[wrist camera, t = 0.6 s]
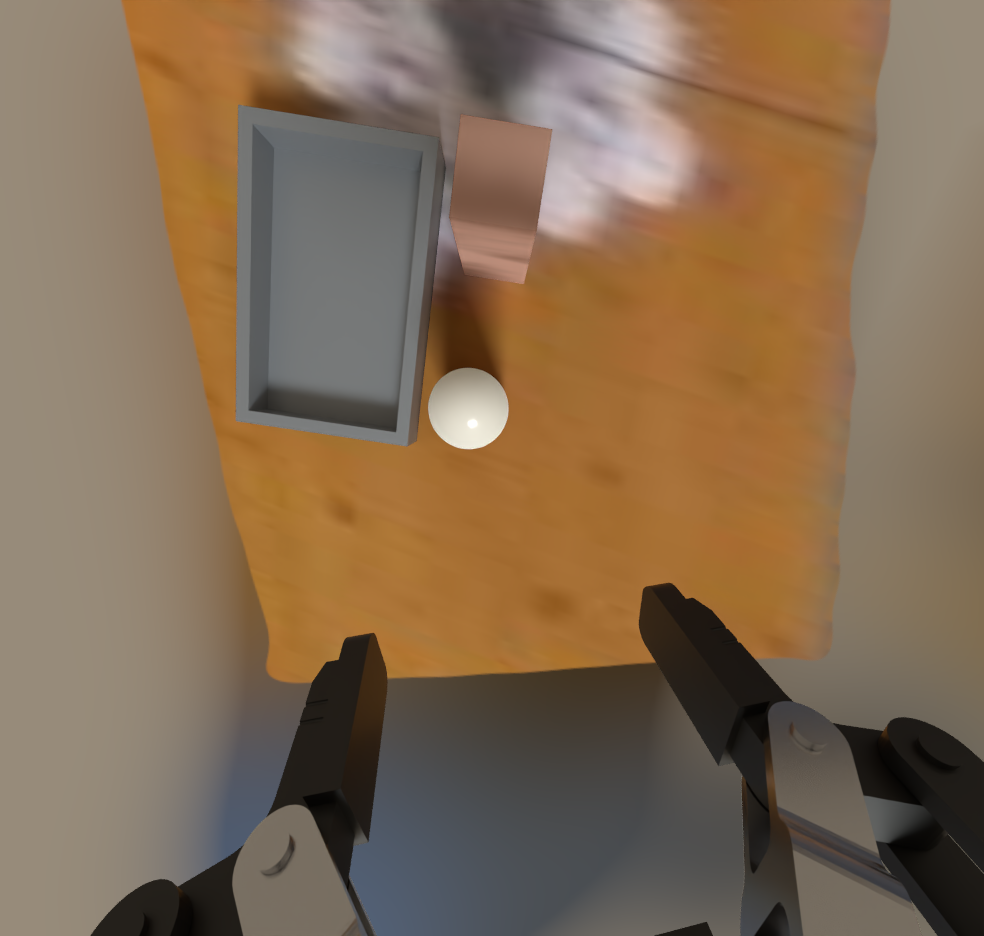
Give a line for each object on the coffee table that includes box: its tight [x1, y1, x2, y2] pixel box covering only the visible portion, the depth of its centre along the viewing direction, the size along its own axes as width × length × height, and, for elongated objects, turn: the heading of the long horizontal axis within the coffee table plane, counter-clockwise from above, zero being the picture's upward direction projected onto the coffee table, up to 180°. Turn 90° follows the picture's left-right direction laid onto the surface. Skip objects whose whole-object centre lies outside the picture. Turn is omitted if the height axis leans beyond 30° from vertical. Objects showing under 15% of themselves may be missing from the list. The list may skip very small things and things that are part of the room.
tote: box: [236, 105, 446, 446], centre depth 29 cm, size 22×14×4 cm, turn 172°
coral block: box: [449, 114, 552, 284], centre depth 25 cm, size 5×5×10 cm
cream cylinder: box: [428, 368, 508, 449], centre depth 27 cm, size 5×5×10 cm
